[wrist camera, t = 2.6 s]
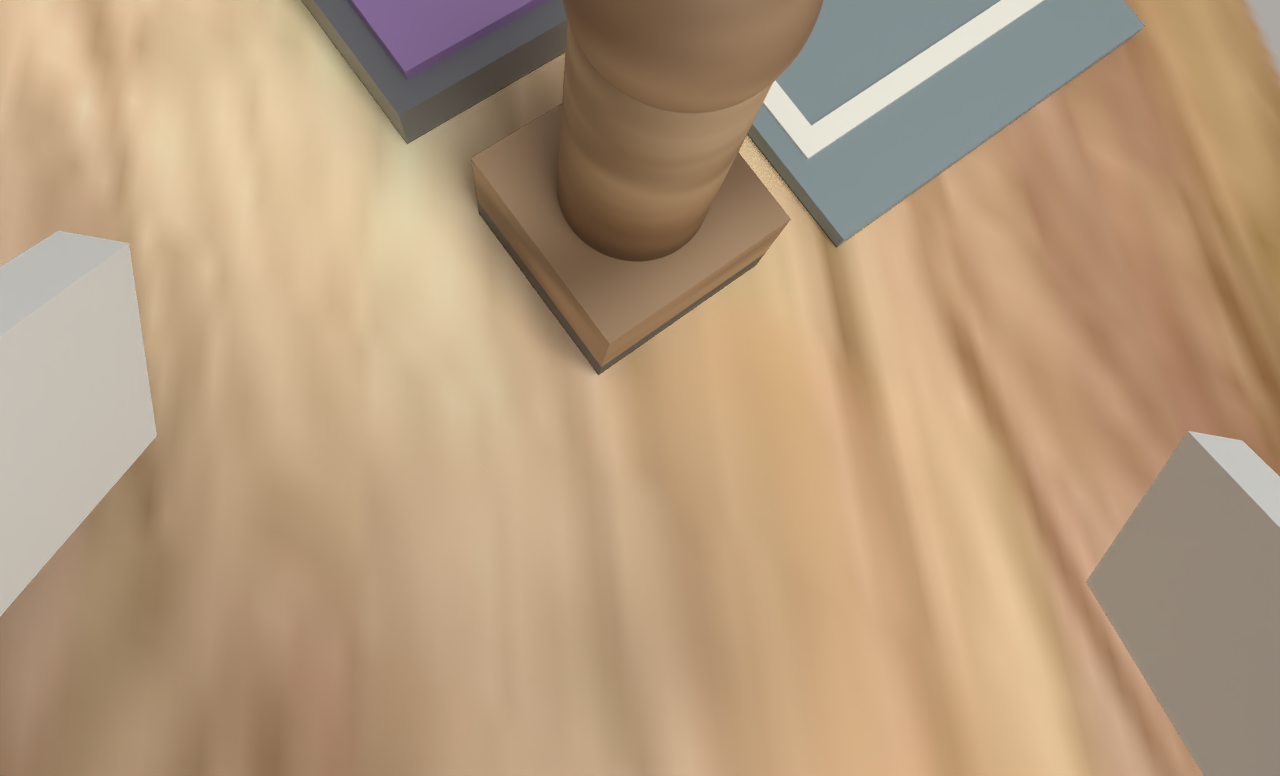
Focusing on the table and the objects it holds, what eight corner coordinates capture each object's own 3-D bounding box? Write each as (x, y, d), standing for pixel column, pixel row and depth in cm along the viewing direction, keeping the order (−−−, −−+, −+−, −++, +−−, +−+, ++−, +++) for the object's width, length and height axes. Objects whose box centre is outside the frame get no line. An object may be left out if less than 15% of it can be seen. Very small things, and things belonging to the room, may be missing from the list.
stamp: (479, 213, 25) (416, -205, 11) (639, 114, 26) (755, -366, 12) (598, 374, 24) (682, 137, 11) (755, 265, 25) (1007, -70, 12)
